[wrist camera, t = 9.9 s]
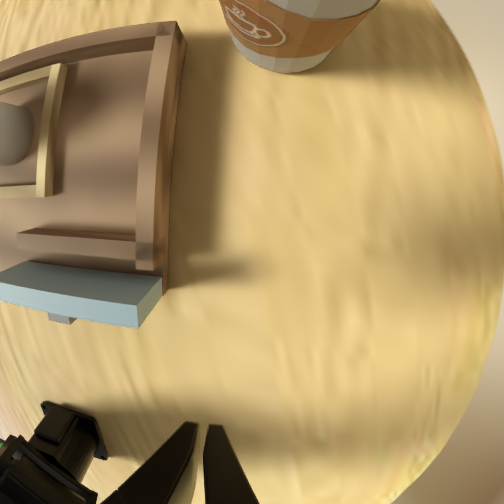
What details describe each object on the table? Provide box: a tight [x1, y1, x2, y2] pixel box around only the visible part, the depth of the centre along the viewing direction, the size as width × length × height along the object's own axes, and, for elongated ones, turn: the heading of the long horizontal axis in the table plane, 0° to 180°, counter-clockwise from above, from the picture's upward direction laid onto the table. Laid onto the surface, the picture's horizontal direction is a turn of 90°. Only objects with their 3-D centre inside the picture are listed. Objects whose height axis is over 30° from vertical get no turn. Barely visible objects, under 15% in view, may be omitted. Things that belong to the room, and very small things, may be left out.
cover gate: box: [0, 261, 162, 329], centre depth 16 cm, size 2×11×4 cm, turn 86°
